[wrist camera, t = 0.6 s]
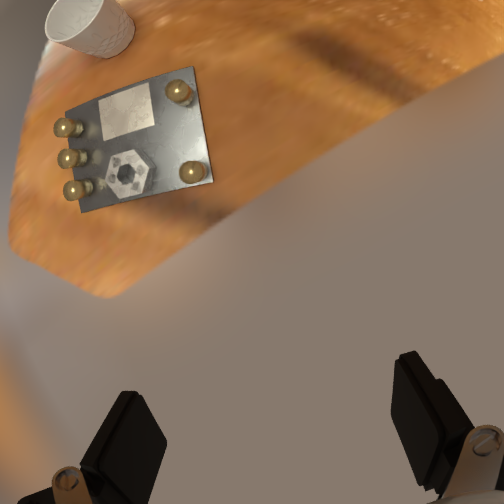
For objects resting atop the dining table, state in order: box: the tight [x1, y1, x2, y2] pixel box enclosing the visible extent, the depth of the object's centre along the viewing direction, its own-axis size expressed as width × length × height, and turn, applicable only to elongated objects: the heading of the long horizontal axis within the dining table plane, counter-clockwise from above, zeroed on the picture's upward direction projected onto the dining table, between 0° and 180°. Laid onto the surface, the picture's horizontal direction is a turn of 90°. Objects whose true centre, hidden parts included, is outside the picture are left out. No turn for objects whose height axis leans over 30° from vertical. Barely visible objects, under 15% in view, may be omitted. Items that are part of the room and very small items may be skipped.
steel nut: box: [105, 149, 157, 199], centre depth 32 cm, size 5×6×2 cm
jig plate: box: [54, 66, 214, 213], centre depth 31 cm, size 14×18×4 cm
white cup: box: [45, 0, 135, 59], centre depth 24 cm, size 8×8×10 cm
